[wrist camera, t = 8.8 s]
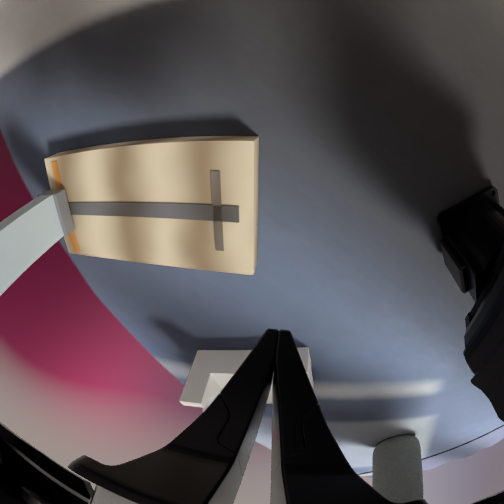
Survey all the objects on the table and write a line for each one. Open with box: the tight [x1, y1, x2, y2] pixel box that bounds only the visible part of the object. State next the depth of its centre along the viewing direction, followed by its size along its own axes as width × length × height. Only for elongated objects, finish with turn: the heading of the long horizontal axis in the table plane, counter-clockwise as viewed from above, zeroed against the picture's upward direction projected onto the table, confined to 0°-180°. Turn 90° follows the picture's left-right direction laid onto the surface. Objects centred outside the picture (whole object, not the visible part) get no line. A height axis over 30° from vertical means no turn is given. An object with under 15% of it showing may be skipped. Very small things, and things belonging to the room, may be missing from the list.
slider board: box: [44, 136, 259, 275], centre depth 21 cm, size 19×10×2 cm, turn 90°
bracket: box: [179, 347, 314, 412], centre depth 28 cm, size 13×7×8 cm, turn 104°
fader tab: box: [0, 189, 75, 295], centre depth 16 cm, size 3×4×10 cm
